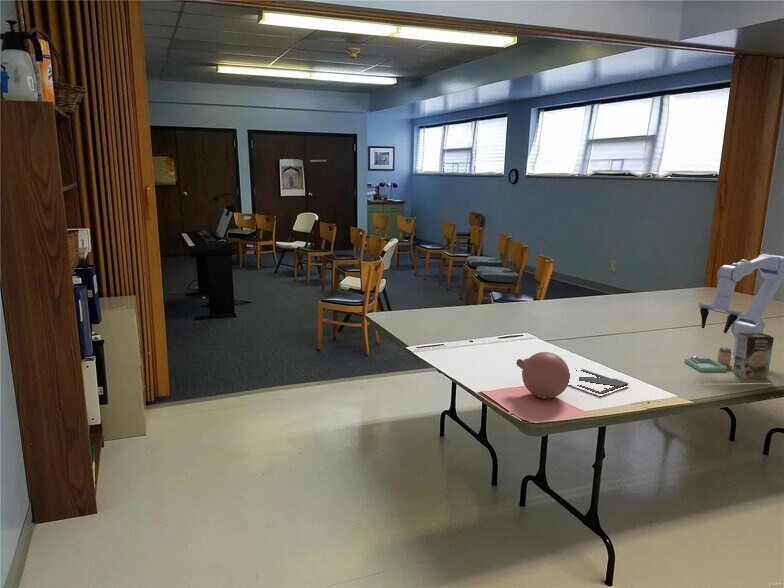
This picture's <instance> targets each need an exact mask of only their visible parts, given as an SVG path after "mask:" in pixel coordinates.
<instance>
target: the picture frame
mask: <svg viewBox="0 0 784 588" xmlns="http://www.w3.org/2000/svg"><path fill="white" fill-rule="evenodd" d="M581 369H582V370H581V371H583V372H586V373H589V374H592V375H595V376H596V377H597V378H594V377H579V381H585V382H590V383H596V384H603V385H610V386H614V387H612V388H609V389H607V388H604V389H606V390H603V391H601V392H599V391H596V390H594V389H591V388H588V387H585V386H582V385H580V386H579V385H577V386H579V387H582V388H585V389H587V390H590V391H592V392H595V393H598V394H604V393H607V392H609V391H613V390H615V389H618V388H621V387H624V386H627V385H628V386H629V382H626V381H623V380H621V379H618V378H610V377H608V376H604V375H601V374H599V373H596V372H593V371H589V370H587V369H583V368H581ZM576 371H577V370H576ZM599 377H600V378H599Z"/></svg>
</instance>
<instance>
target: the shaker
mask: <svg viewBox="0 0 784 588" xmlns="http://www.w3.org/2000/svg"><path fill="white" fill-rule="evenodd" d="M732 354H733V351H732V349H731V348H729V347H726V346H725V347H724V346H723V347H722V346H721V347H719V349H718V352H717V360H716V362H718V363H720V364H722V365H724V366H726V367H727V368H728V367H730V365H731V359H732V358H731V355H732Z"/></svg>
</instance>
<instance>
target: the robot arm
mask: <svg viewBox="0 0 784 588" xmlns="http://www.w3.org/2000/svg"><path fill="white" fill-rule="evenodd" d="M754 270H759V273H760V276H762V277H763V278H764V281H763V283H762V284H761V286H760V288H759V290H758V291H757V294H756V295H755V297H754V299H753V301H752V302H751V304H750V306H749V308H748V310H747V312H745V313H743V312H742V311H738V310H735V309H734V310H733V309H730V307H731V302H732V299H733V296H734V294H735V288H736V286H737V282H740V281H741V279H742V278H744V277H746V276H748V275H751V274H752V273H753V272H754ZM716 274H717V279H716V280H717V281H716V283H717V285H716V286H717V287H716V290H715V292H714V293H715V294H714V297H713V301H712V304H711V305H710V304H707V303H701V302H699V303H698V305H697V308H698V309H699V313H700V317H701V328H702V329H705V327H706V323H707V320H708V319H707V318H708V315H710V314H709V313H710V311H711V312H716V313H721V314H725V315H727V316H726V317H727V318H726V321H725V322H726V323H725V325H724V329H723V334H728V331H729V330H730V332H731V334H733V337H734V344H733V350H732V354H731V359H732V360H735V356H736V349H737V343H738V336H739V333H763V334H764V329H765V328H766V327H765V326H766V324H765V322H764V321H763V320H762V317H764V314H765V312H766V311H767V308H768V307H769V305H770V303H771V301H772V300H773V297H774V296H775V294H776V292H777V290H778V288H779V287H780V284H781V283H782V281H783V280H784V255H783V256H782V255H774V254H768V253H762V254H759V255H758V257H756V258H754V259H752V260H747V259H741V260H740V261H739V262H733V263H732V264H729V265H728V264H724V265H722V266H720V267H719V269H718V270H717V273H716Z"/></svg>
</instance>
